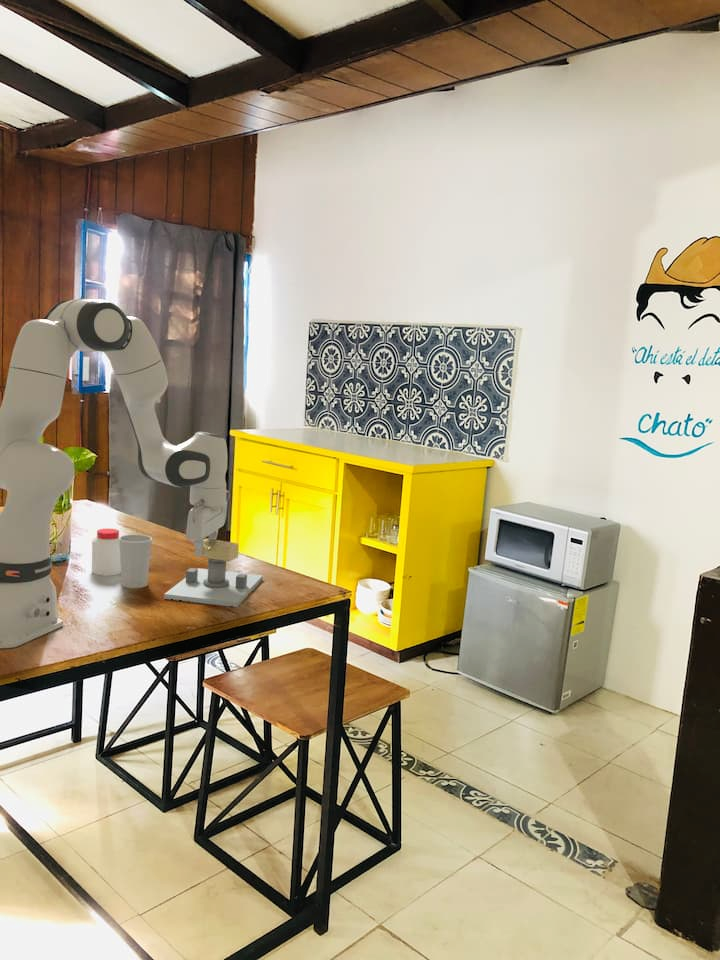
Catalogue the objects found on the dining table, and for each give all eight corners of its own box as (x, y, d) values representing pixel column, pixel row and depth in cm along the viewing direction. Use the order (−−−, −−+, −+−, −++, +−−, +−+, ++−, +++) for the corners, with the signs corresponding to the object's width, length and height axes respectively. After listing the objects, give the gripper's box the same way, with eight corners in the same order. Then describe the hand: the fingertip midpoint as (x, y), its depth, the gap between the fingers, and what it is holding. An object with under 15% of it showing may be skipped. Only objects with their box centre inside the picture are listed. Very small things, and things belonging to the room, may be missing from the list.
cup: (134, 577, 204) (135, 532, 202) (157, 584, 200) (159, 538, 198) (110, 584, 197) (112, 537, 195) (134, 591, 193) (135, 543, 191)
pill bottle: (103, 577, 202) (104, 535, 200) (85, 570, 207) (86, 529, 205) (128, 572, 208) (129, 531, 207) (110, 565, 213) (111, 526, 211)
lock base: (236, 607, 187) (238, 578, 186) (164, 598, 189) (165, 569, 188) (262, 579, 210) (264, 553, 209) (197, 572, 213) (198, 546, 211)
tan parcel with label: (237, 561, 200) (238, 542, 199) (229, 565, 195) (230, 546, 194) (205, 555, 202) (206, 538, 201) (196, 560, 198) (197, 541, 197)
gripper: (206, 505, 186) (204, 562, 188) (231, 491, 206) (229, 542, 208) (180, 503, 187) (178, 559, 189) (208, 489, 207) (206, 540, 209)
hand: (205, 550), depth 199 cm, fingers open, 8 cm apart
